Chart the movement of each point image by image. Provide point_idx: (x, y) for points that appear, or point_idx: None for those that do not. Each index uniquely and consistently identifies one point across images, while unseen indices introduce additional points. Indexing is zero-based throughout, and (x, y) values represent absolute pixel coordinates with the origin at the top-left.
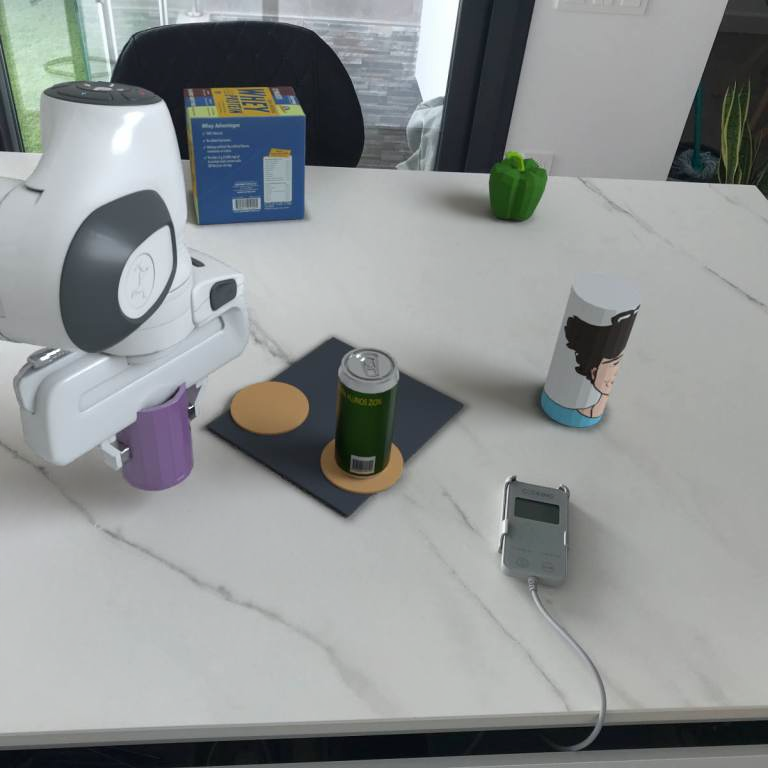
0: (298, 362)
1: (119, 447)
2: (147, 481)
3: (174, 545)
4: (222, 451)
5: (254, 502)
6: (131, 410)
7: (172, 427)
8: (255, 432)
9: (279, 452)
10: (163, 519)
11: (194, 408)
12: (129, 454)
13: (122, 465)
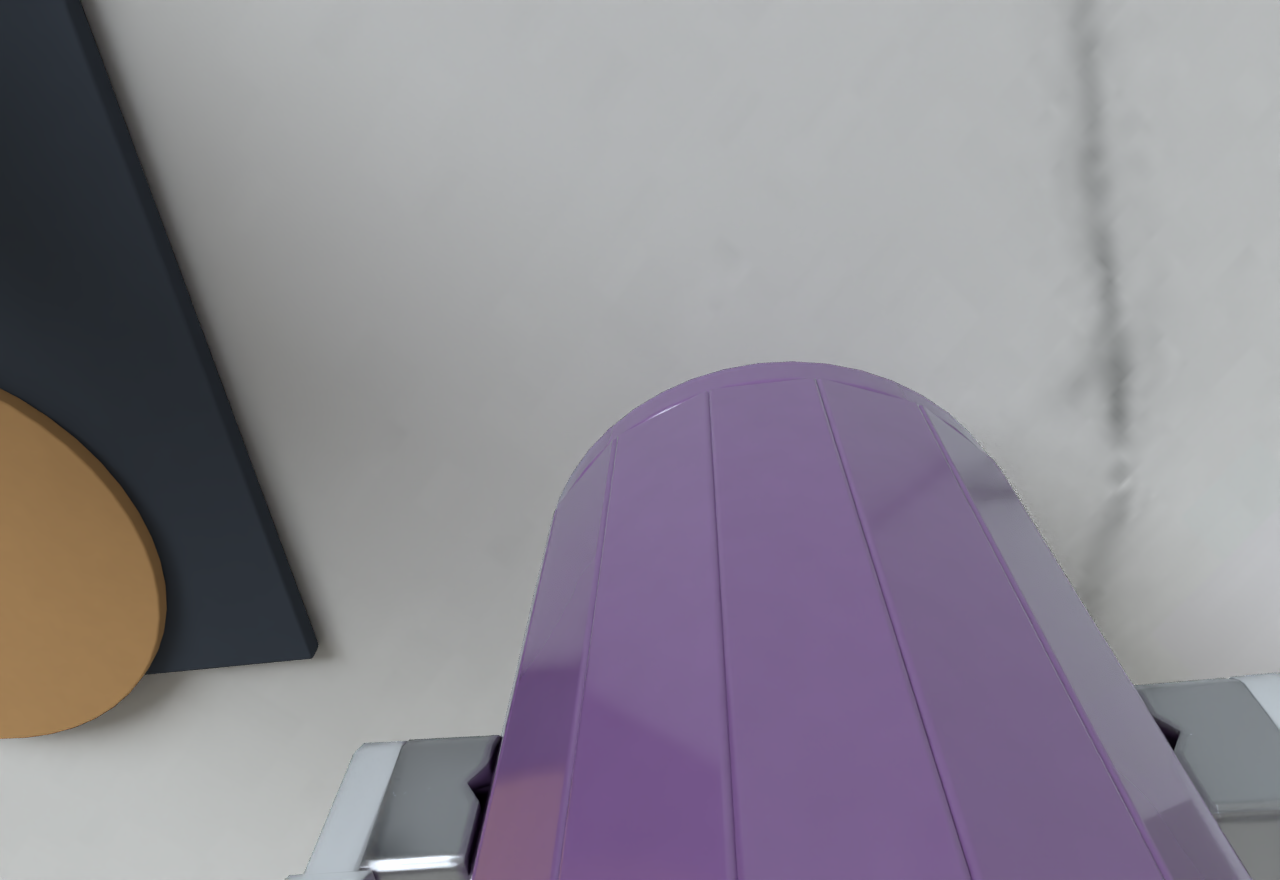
0: None
1: (1274, 862)
2: (1008, 482)
3: (960, 88)
4: (332, 480)
5: (382, 31)
6: None
7: (897, 807)
8: (97, 469)
9: (35, 254)
10: (870, 296)
11: (377, 831)
12: (1186, 746)
13: (1243, 686)
